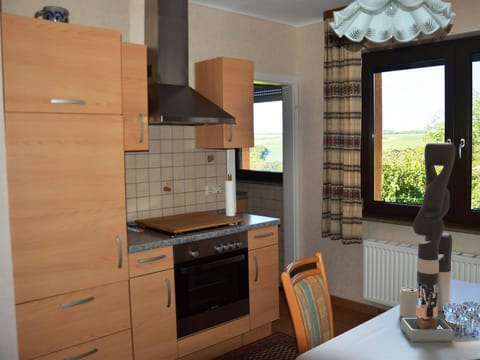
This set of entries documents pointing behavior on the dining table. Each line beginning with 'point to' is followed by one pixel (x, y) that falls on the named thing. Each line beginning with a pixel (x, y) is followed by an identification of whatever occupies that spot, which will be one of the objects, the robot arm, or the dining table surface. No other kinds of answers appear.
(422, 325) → the block
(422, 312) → the light box
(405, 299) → the can
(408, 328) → the tote
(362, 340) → the dining table surface
